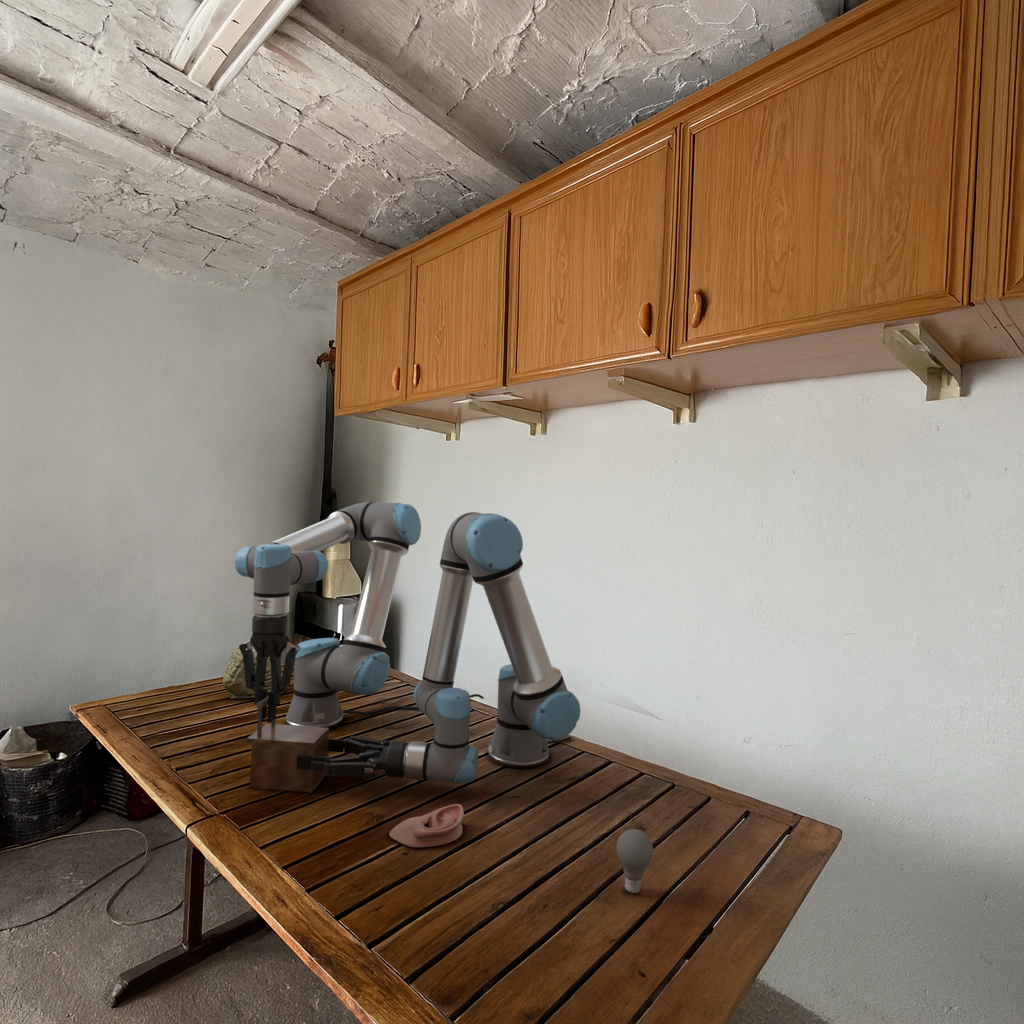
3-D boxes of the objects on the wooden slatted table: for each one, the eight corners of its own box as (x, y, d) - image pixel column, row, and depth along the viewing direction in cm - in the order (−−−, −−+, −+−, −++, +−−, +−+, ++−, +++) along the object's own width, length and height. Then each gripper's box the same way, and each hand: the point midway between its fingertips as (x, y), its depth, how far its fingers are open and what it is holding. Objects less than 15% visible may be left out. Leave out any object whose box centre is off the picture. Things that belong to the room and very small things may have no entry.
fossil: (218, 695, 195) (220, 647, 195) (278, 685, 208) (279, 640, 207) (228, 703, 189) (230, 653, 188) (289, 692, 201) (290, 645, 201)
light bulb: (610, 879, 108) (613, 822, 108) (644, 879, 109) (647, 822, 109) (619, 902, 102) (622, 840, 102) (655, 901, 103) (658, 840, 103)
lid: (246, 742, 136) (248, 702, 136) (266, 727, 145) (267, 690, 145) (313, 747, 135) (314, 707, 135) (328, 731, 144) (330, 694, 144)
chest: (249, 788, 136) (251, 743, 136) (269, 770, 145) (270, 727, 145) (311, 792, 135) (313, 747, 135) (327, 774, 144) (328, 732, 144)
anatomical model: (383, 821, 117) (406, 793, 128) (382, 842, 117) (405, 813, 128) (452, 832, 114) (469, 802, 125) (451, 853, 114) (468, 822, 125)
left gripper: (230, 615, 137) (226, 723, 137) (295, 619, 136) (291, 728, 136) (247, 609, 144) (243, 712, 145) (309, 613, 143) (305, 716, 144)
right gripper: (392, 800, 128) (284, 791, 129) (417, 756, 149) (324, 749, 151) (394, 763, 127) (286, 755, 129) (418, 725, 149) (325, 718, 151)
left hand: (266, 720), depth 141 cm, fingers closed on lid, 1 cm apart
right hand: (306, 752), depth 140 cm, fingers closed on chest, 9 cm apart
